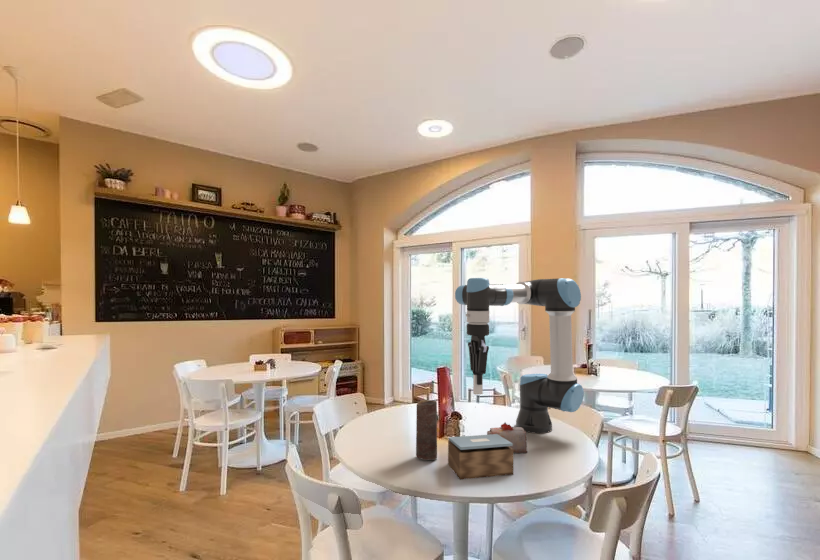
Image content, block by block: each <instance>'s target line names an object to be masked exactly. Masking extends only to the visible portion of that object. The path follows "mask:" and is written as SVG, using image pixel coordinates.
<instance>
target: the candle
mask: <svg viewBox="0 0 820 560" xmlns="http://www.w3.org/2000/svg"><path fill="white" fill-rule="evenodd" d="M437 405H438V403H437V400H427V399H426V400H424V399H423V400H420V401H418V402H417V403H416V421H415V423H416V425H415V427H416V428H415V429H416V430H415V431H416V434H415V435H416V436H415V437H416V438H415V439H416V443H415V446H416V447H415V456H416V458H418V459H421V460H423V461H430V460H437V458H438V425H437V424H438V422H437V421H438V416H437V415H438V413H437V411H438V410H437V408H438V407H437Z"/></svg>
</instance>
